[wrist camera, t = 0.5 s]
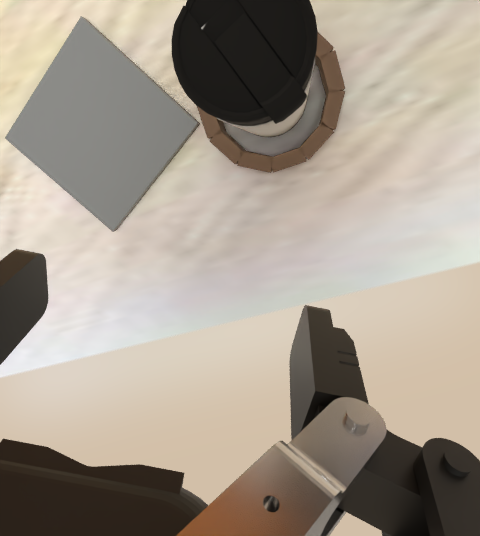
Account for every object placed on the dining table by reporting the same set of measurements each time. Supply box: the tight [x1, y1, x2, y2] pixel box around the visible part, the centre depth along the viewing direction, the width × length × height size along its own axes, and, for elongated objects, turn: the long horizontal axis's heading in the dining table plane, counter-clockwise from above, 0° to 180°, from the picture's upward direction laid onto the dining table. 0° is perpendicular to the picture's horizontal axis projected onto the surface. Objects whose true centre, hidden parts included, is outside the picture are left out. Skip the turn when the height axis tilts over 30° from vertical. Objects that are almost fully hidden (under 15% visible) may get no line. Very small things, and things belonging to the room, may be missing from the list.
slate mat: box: [5, 16, 200, 231], centre depth 38 cm, size 13×13×1 cm
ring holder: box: [197, 32, 345, 173], centre depth 34 cm, size 11×11×3 cm
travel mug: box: [172, 0, 318, 137], centre depth 26 cm, size 6×7×20 cm
